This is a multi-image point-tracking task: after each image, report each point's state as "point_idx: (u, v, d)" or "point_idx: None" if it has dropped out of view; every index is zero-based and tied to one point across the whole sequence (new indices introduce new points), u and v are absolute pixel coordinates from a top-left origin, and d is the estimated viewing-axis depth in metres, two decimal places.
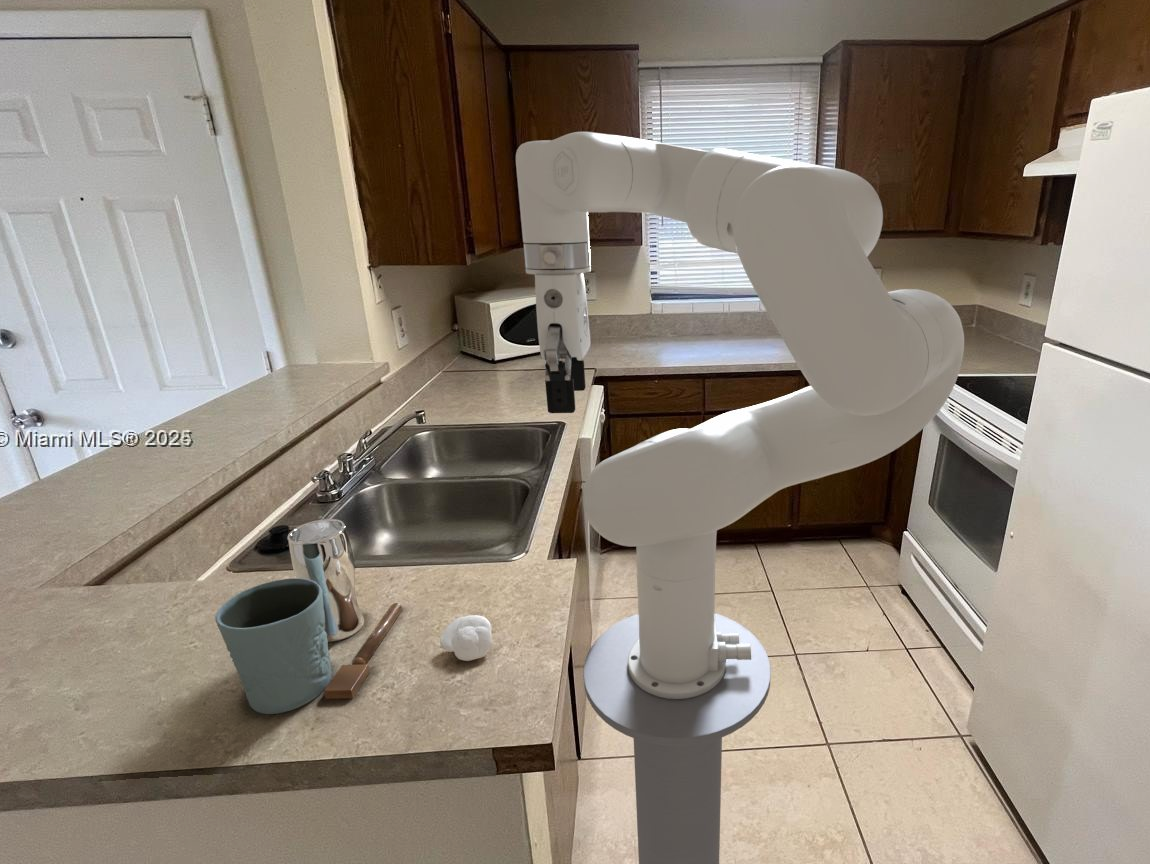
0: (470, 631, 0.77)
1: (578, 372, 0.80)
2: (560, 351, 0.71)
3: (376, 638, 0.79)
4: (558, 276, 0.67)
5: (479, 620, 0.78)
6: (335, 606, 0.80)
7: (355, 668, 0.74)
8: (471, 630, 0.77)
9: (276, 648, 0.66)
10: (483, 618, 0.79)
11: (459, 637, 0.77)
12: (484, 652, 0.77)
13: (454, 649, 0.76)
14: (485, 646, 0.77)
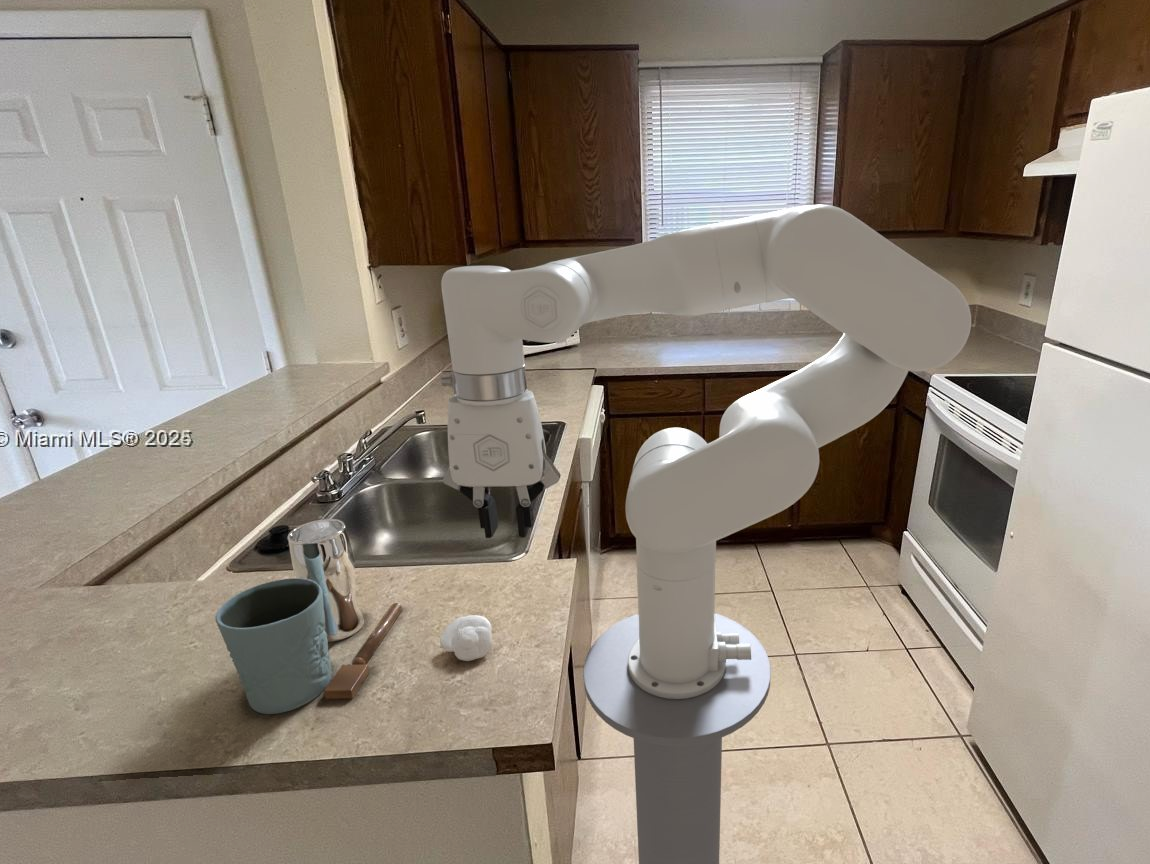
0: (470, 631, 0.77)
1: None
2: None
3: (376, 638, 0.79)
4: (449, 399, 0.66)
5: (479, 620, 0.78)
6: (335, 606, 0.80)
7: (355, 668, 0.74)
8: (471, 630, 0.77)
9: (276, 648, 0.66)
10: (483, 618, 0.79)
11: (459, 637, 0.77)
12: (484, 652, 0.77)
13: (454, 649, 0.76)
14: (485, 646, 0.77)
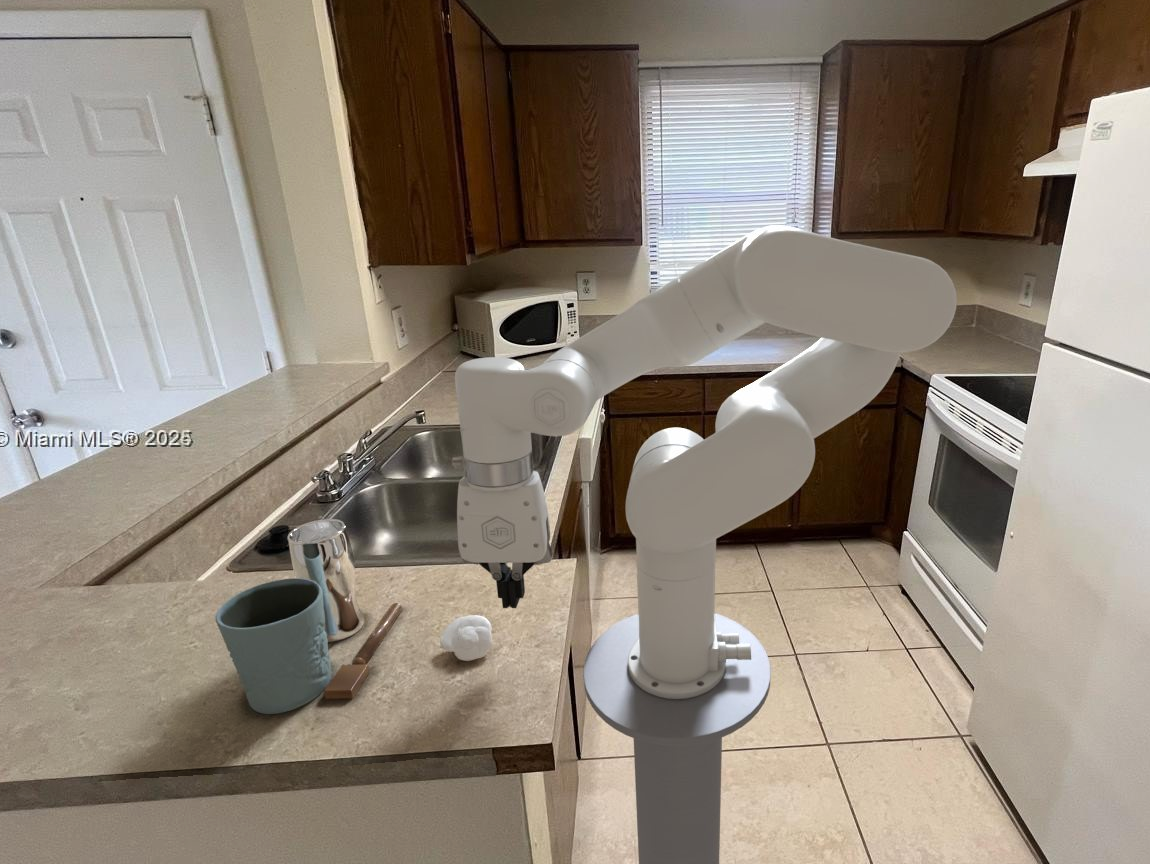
0: (470, 631, 0.77)
1: None
2: None
3: (376, 638, 0.79)
4: (459, 481, 0.70)
5: (479, 620, 0.78)
6: (335, 606, 0.80)
7: (355, 668, 0.74)
8: (471, 630, 0.77)
9: (276, 648, 0.66)
10: (483, 618, 0.79)
11: (459, 637, 0.77)
12: (484, 652, 0.77)
13: (454, 649, 0.76)
14: (485, 646, 0.77)
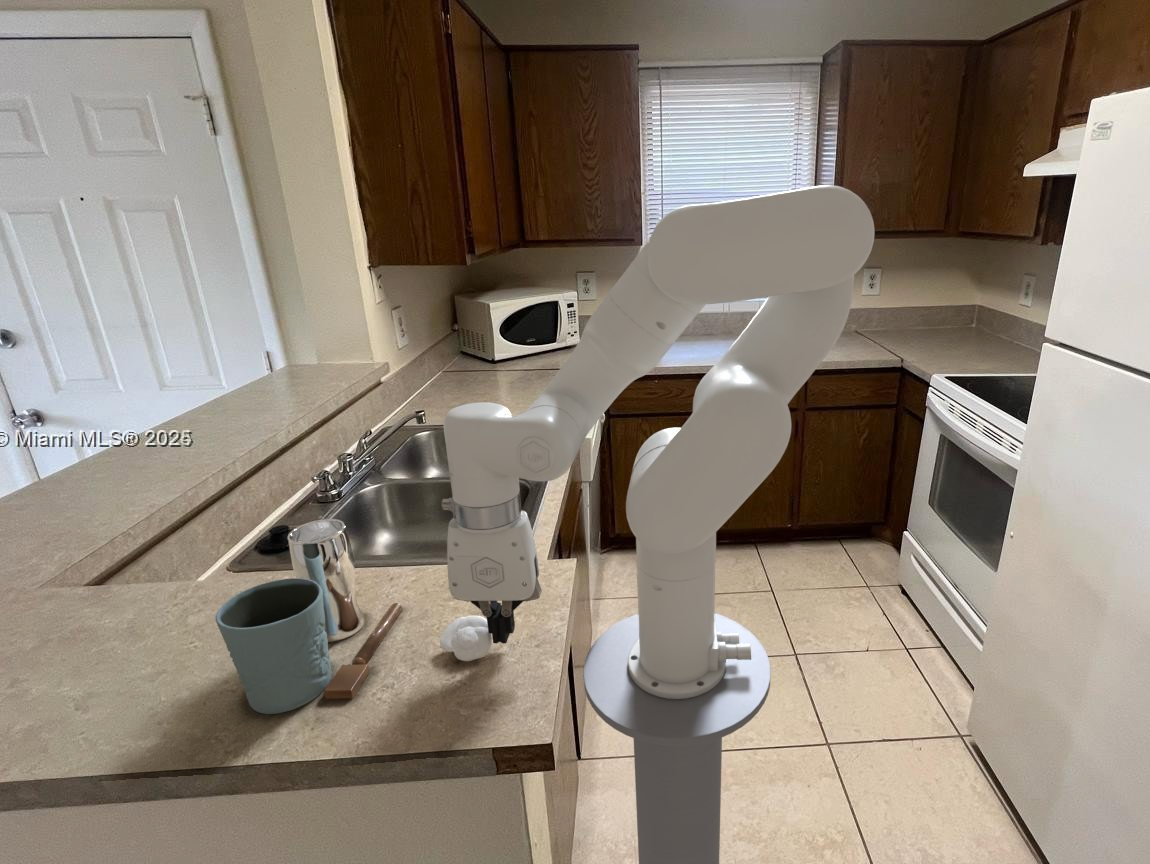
0: (470, 631, 0.77)
1: None
2: None
3: (376, 638, 0.79)
4: (449, 522, 0.72)
5: (479, 620, 0.78)
6: (335, 606, 0.80)
7: (355, 668, 0.74)
8: (471, 630, 0.77)
9: (276, 648, 0.66)
10: (483, 618, 0.79)
11: (459, 637, 0.77)
12: (484, 652, 0.77)
13: (454, 649, 0.77)
14: (485, 646, 0.77)
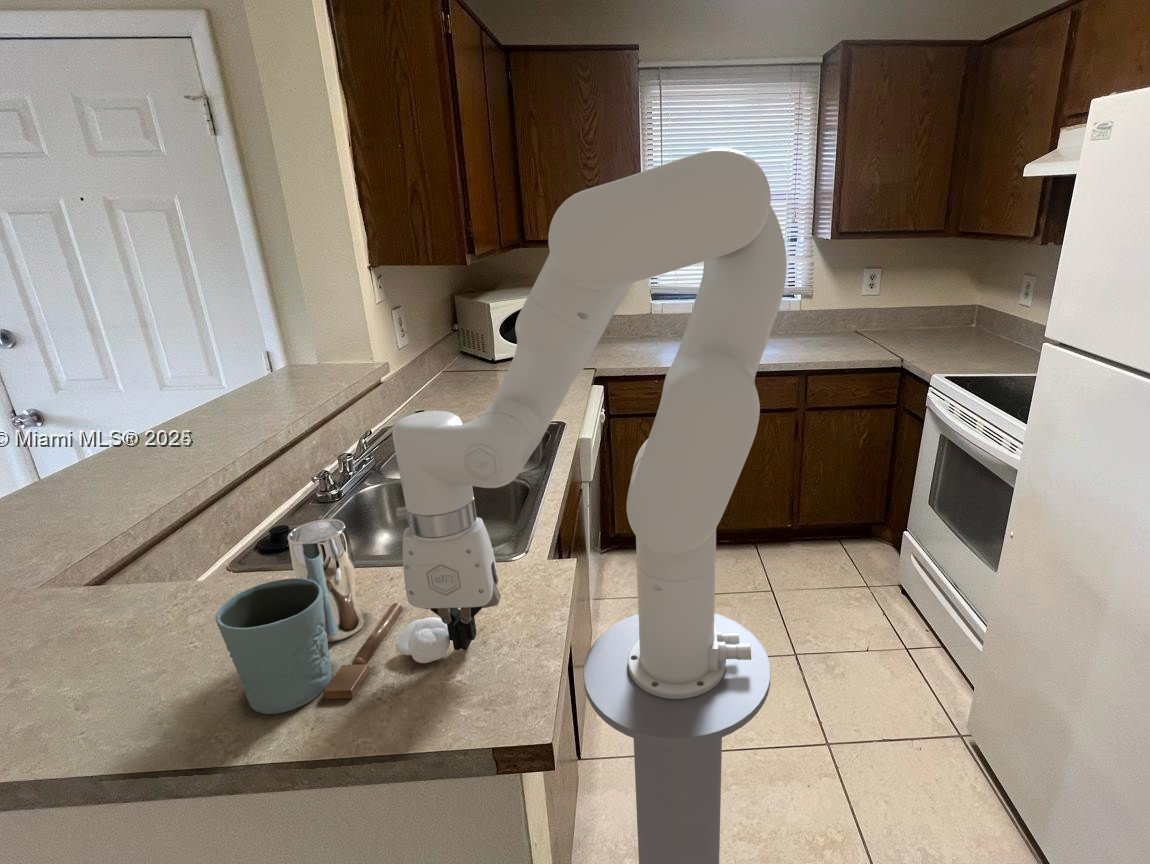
0: (427, 633, 0.77)
1: None
2: None
3: (376, 638, 0.79)
4: None
5: (436, 622, 0.78)
6: (335, 606, 0.80)
7: (355, 668, 0.74)
8: (428, 632, 0.77)
9: (276, 648, 0.66)
10: (440, 619, 0.79)
11: (416, 639, 0.76)
12: (442, 653, 0.77)
13: (411, 652, 0.76)
14: (443, 647, 0.77)
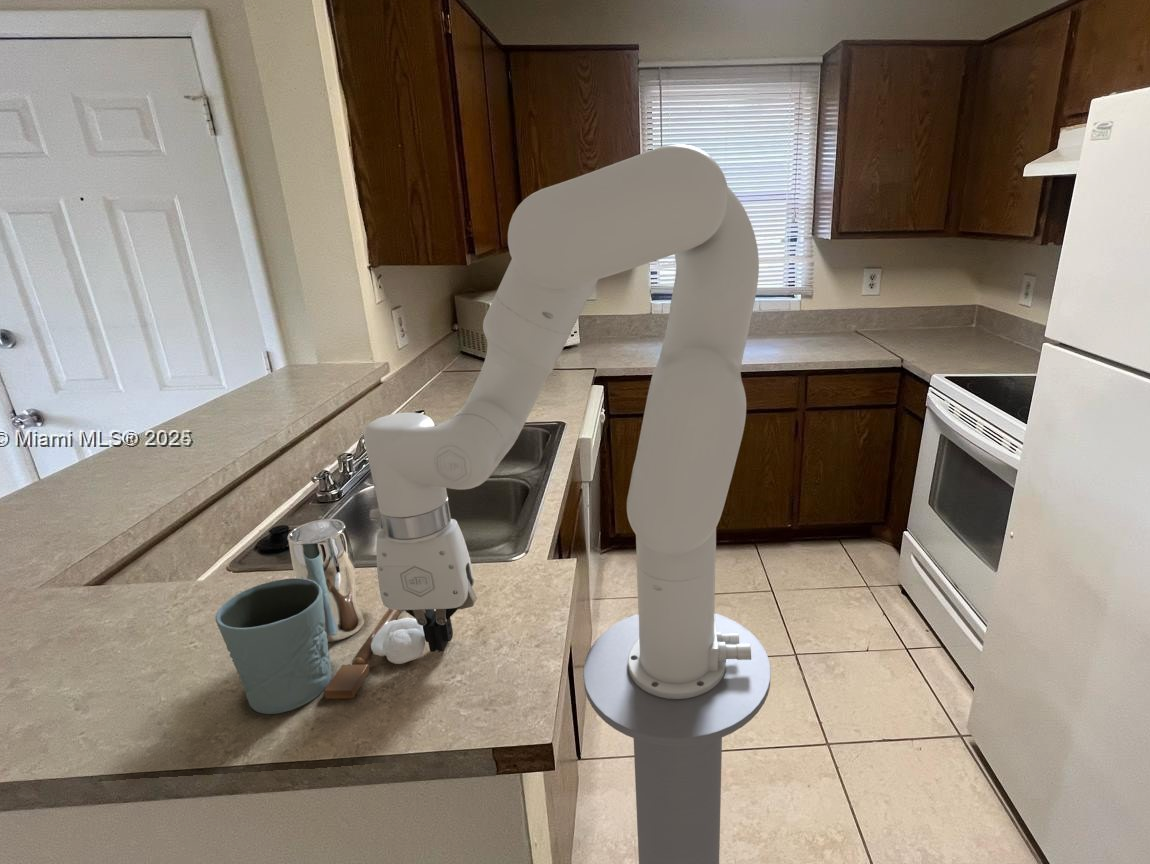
0: (402, 634, 0.77)
1: None
2: None
3: None
4: None
5: (411, 622, 0.78)
6: (335, 606, 0.80)
7: (355, 668, 0.74)
8: (403, 633, 0.77)
9: (276, 648, 0.66)
10: (415, 620, 0.79)
11: (391, 640, 0.76)
12: (418, 653, 0.77)
13: (386, 653, 0.76)
14: (418, 647, 0.77)
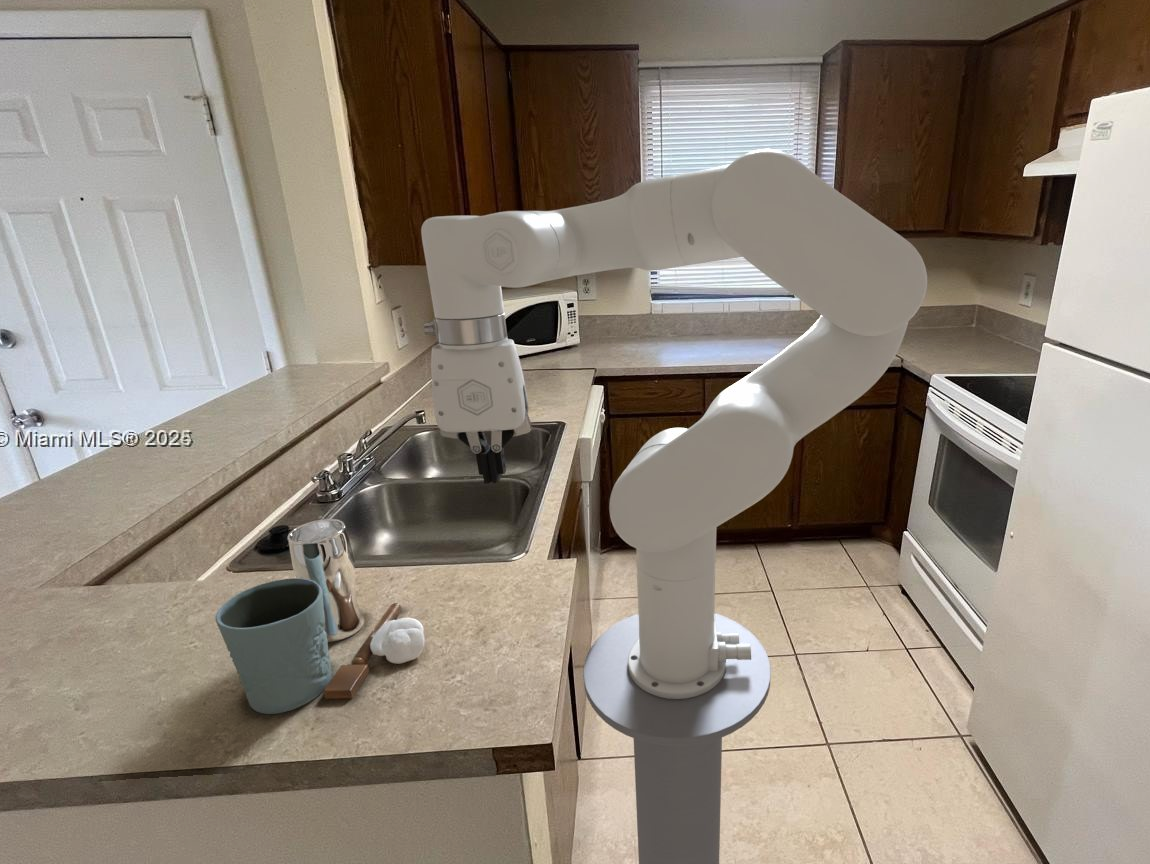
0: (401, 633, 0.77)
1: None
2: None
3: None
4: (432, 347, 0.69)
5: (410, 622, 0.78)
6: (335, 606, 0.80)
7: (354, 668, 0.74)
8: (402, 632, 0.77)
9: (276, 648, 0.66)
10: (414, 620, 0.79)
11: (390, 640, 0.76)
12: (417, 653, 0.77)
13: (385, 653, 0.76)
14: (418, 647, 0.77)
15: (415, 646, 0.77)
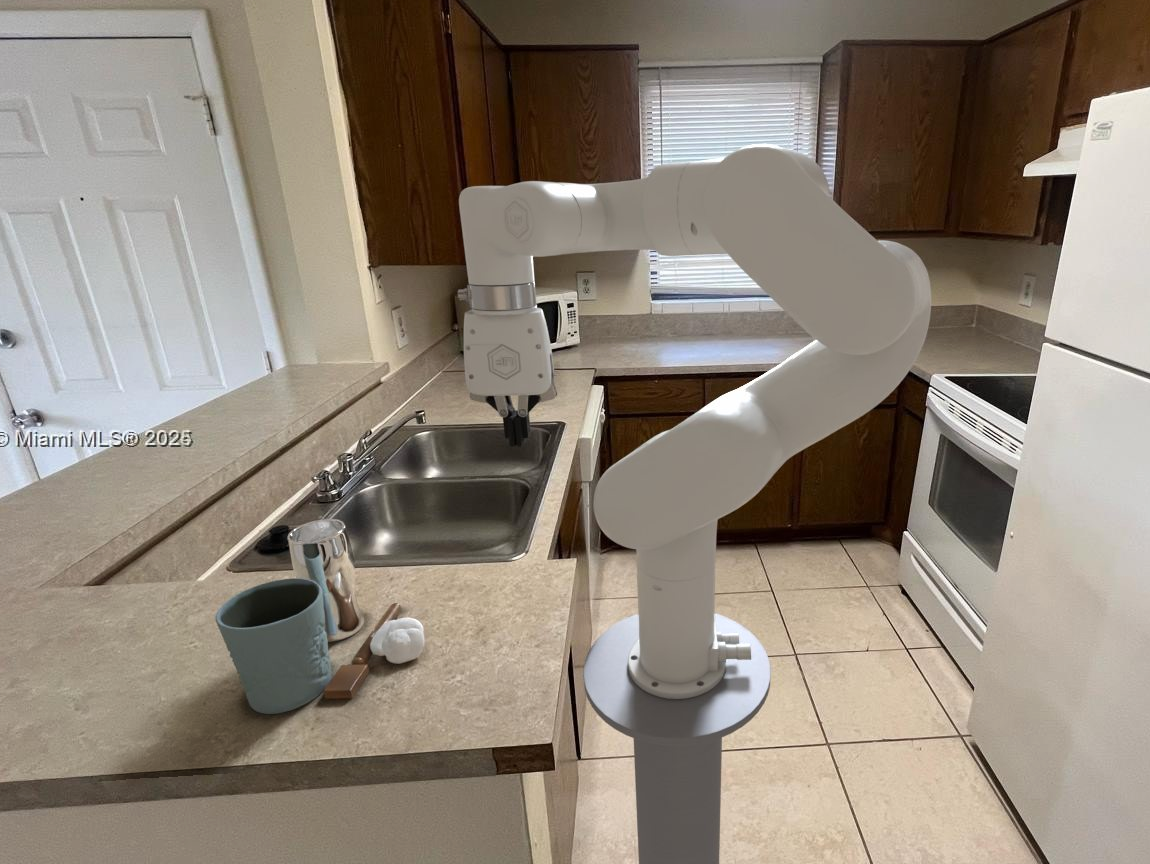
0: (401, 633, 0.77)
1: None
2: None
3: None
4: (465, 313, 0.72)
5: (410, 622, 0.78)
6: (335, 606, 0.80)
7: (354, 668, 0.74)
8: (402, 632, 0.77)
9: (276, 648, 0.66)
10: (414, 620, 0.79)
11: (390, 640, 0.76)
12: (417, 653, 0.77)
13: (385, 653, 0.76)
14: (418, 647, 0.77)
15: (415, 646, 0.77)
